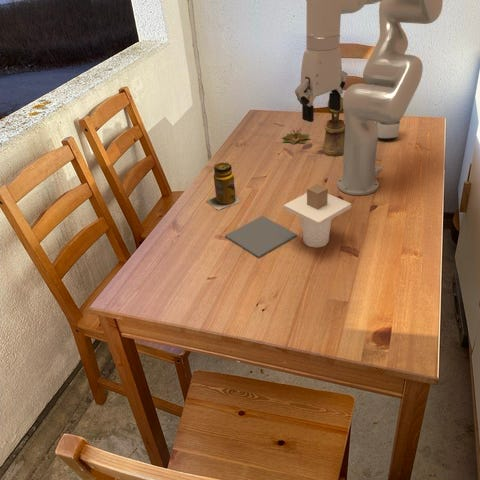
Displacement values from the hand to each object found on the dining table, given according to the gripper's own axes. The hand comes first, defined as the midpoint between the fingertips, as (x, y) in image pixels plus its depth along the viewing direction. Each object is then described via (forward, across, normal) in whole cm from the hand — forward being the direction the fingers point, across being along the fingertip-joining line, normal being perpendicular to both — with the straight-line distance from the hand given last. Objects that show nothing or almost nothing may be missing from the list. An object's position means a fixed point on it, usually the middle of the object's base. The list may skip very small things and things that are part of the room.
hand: (321, 115), depth 118 cm
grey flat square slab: (+30, +18, -5) cm, 36 cm away
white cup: (+31, +9, +7) cm, 33 cm away
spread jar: (+31, -58, -22) cm, 69 cm away
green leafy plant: (+31, -36, -45) cm, 66 cm away
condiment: (+31, +13, -28) cm, 43 cm away
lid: (+20, +9, +7) cm, 23 cm away
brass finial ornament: (+31, -39, -28) cm, 57 cm away
